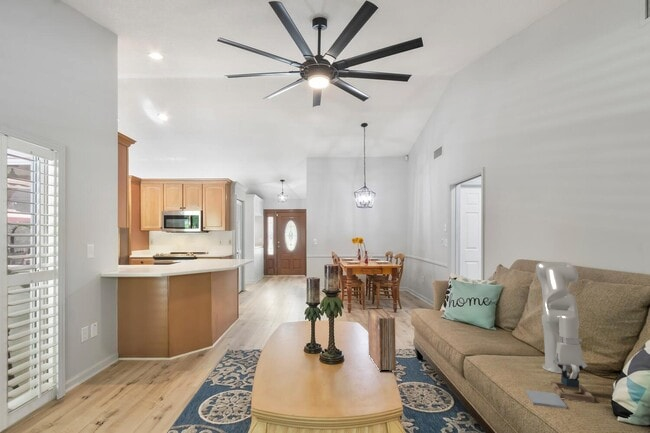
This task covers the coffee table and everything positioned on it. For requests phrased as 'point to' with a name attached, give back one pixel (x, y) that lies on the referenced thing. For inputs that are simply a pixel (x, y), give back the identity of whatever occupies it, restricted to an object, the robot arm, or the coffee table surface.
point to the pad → (545, 399)
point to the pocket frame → (585, 397)
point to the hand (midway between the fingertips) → (570, 378)
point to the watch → (571, 377)
